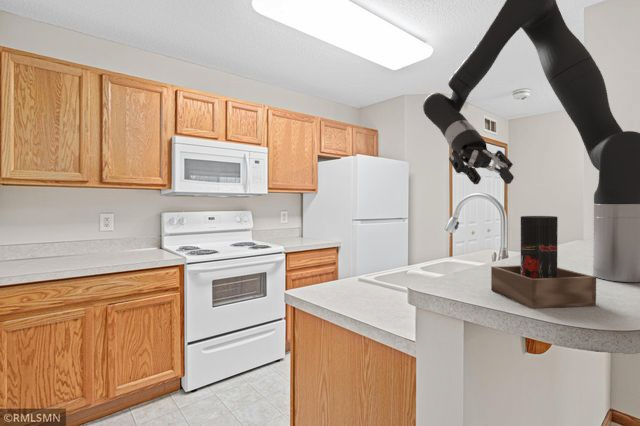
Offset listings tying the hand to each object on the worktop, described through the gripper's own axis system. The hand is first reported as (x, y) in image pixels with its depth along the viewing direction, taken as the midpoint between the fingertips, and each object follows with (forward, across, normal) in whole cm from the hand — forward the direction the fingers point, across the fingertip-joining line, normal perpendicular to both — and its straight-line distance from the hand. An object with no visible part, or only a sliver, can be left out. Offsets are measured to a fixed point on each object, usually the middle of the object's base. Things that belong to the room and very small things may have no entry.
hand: (494, 181), depth 80 cm
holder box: (+27, -2, +6) cm, 28 cm away
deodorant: (+27, -2, +6) cm, 27 cm away
